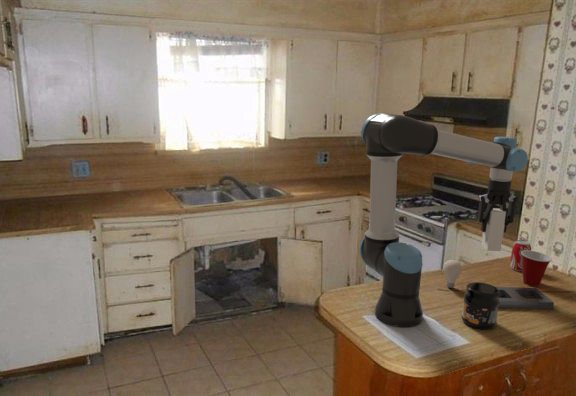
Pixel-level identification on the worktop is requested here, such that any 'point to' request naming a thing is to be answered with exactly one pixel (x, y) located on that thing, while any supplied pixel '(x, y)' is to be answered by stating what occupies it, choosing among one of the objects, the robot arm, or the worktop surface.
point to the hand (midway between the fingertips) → (492, 240)
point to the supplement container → (480, 305)
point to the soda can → (518, 254)
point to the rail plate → (516, 300)
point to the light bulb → (452, 272)
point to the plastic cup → (534, 266)
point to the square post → (495, 230)
